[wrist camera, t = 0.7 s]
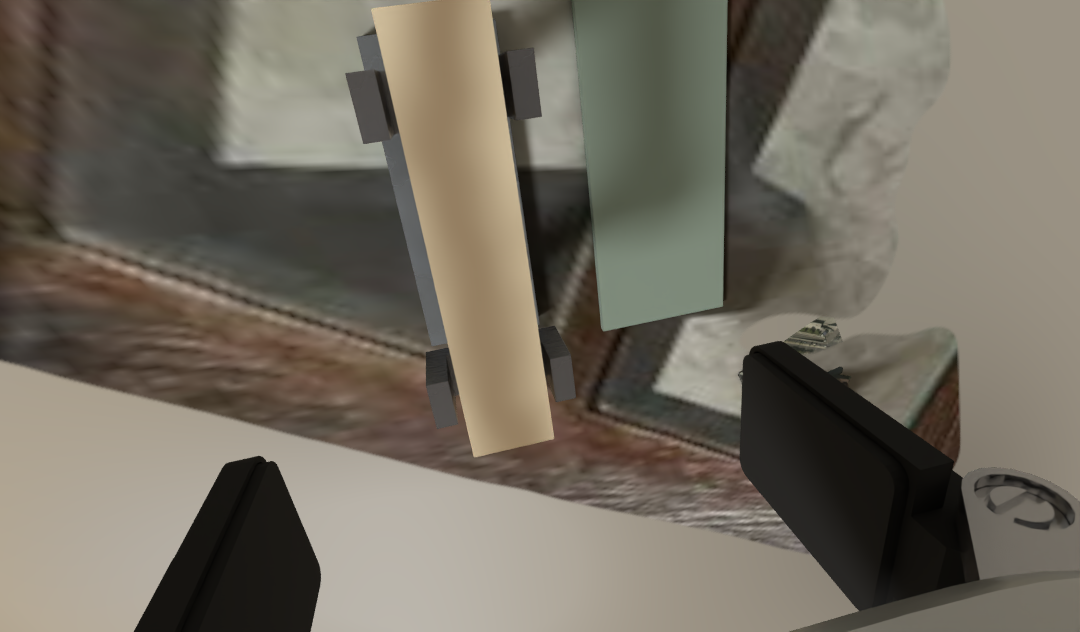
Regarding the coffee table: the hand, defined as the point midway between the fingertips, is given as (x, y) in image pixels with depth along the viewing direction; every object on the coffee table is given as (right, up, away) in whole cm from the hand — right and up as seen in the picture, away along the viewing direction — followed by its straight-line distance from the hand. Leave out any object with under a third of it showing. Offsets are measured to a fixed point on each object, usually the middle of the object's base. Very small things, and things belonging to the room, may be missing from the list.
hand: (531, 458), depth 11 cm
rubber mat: (+8, +14, +27) cm, 31 cm away
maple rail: (-3, +6, +14) cm, 16 cm away
